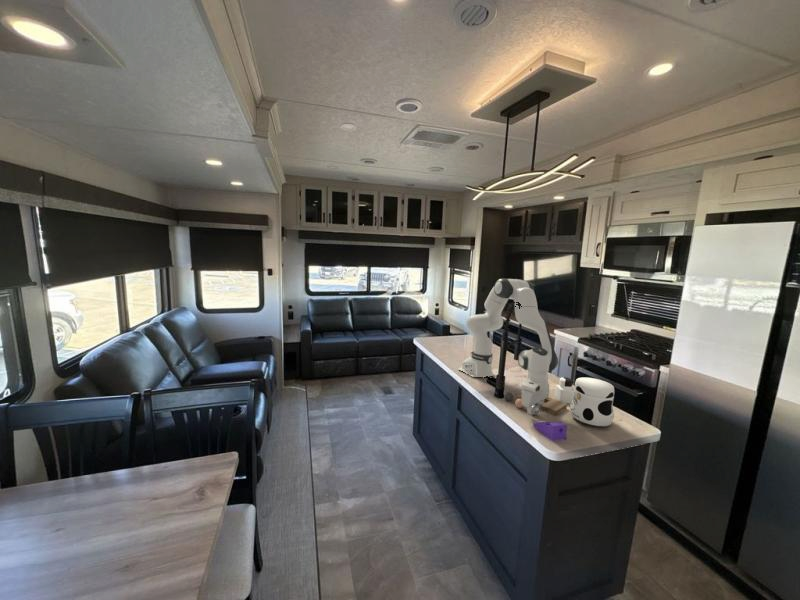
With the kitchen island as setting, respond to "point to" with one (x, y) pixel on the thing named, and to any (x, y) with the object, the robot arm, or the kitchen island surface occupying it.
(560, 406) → the hole plate
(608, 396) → the doce de leite tub
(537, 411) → the steel ball
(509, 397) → the rubber ball
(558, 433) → the bracket
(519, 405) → the terracotta ball
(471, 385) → the kitchen island surface
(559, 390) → the medicine bottle
